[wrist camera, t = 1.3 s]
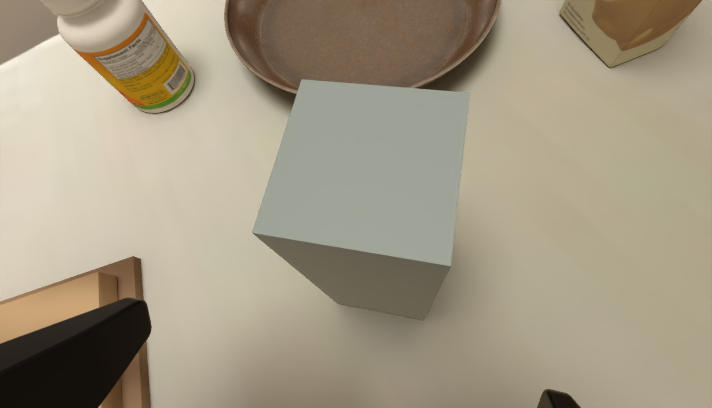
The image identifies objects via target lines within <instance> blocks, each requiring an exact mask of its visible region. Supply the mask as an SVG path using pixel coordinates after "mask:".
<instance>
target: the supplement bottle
mask: <svg viewBox="0 0 712 408" xmlns="http://www.w3.org/2000/svg"><path fill="white" fill-rule="evenodd" d="M40 1H41V2H42V3H43V4H44V5H45V6H46V7H47V8H48V9H49V10H51V12H52V13H53V14H55V15H56V16H58V20H57V23H58V24H57V25H58V30H59V33H60V34H61V36H62V38H63V39H64V40H65V41H66V42H67V43H68V44H69V45H70V46H71V47H72V48H73V49H74V50H75V51H76V52H77V53H78V54H79V55H80V56H81V57H82V58H83V59H84V60H86V61H87V62H88V63H89V64H90V65H91V66H92V67H93V68H94V69H95V70H96V71H97V72H98V73H99V74H100V75H101V76H103V77H104V78H105V79H106V80H107V81H108V82H109V83H110V84H111V85H112V86H113V87H114V88H115V89H116V90H118V91H119V92H120V93H121V94H122V95H123V96H124V97H125V98H126V99H127V100H128V101H129V102H131V103H132V104H133V105H134V106H135V107H136V108H138V109H140V110H142V111H144V112H149V113H159V112H163V111H167V110H169V109H171V108H173V107H175V106H177V105H178V104H179V103H181V102H182V101H183V100H184V99H185V98H186V97H187V96H188V94H189V93H190V91H191V89H192V87H193V83H194V75H193V71H192V69H191V67H190V66H189V64H188V63H187V61H186V60H185V59H184V57H183V56H182V55H181V53H180V52H179V51H178V49H177V48H176V46H175V45H174V44H173V42H172V41H171V40H170V38H169V37H168V36H167V34H166V33H165V32H164V30H163V29H162V28H161V26H160V25H159V23H158V22H157V21H156V19H155V18H154V17H153V15H152V14H151V12H150V11H149V10H148V8H147V7H146V6H145V4H144V3H143V2H142V0H40Z"/></svg>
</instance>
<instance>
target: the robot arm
mask: <svg viewBox="0 0 712 408" xmlns="http://www.w3.org/2000/svg"><path fill="white" fill-rule="evenodd" d="M151 328H152V326H151V321H150V316H149V311H148V307H147V303H146V302H145V301H144V300H141V299H136V298H132V297H127V298H124V299H121V300H118V301H115V302H113V303H110V304H107V305H104V306H102V307H99V308H96V309H93V310H91V311H88V312H85V313H83V314H80V315H77V316H74V317H72V318H69V319H66V320H63V321H61V322H58V323H55V324H52V325H50V326H47V327H44V328H41V329H39V330H36V331H33V332H30V333H28V334H25V335H22V336H19V337H17V338H14V339H11V340H8V341H6V342H3V343H0V408H98V407H99V406H100V405H101V404H102V402H103V401H104V400H105V399H106V397H107V396H108V395H109V393H110V392H111V390H112V389H113V388H114V386H115V385H116V383H117V382H118V381H119V379H120V378H121V376H122V375H123V373H124V372H125V370H126V369H127V368H128V366H129V365H130V363H131V362H132V360H133V359H134V357H135V356H136V355H137V353H138V352H139V350H140V349H141V347H142V346H143V344H144V343H145V342H146V340H147V339H148V337H149V335H150V333H151ZM537 408H581V407H580V406H579V405H578V404H577V403H576V402H575V400H574V399H573V398H572V397H571V396H570V395H568V394H567V393H564V392H560V391H555V390H551V389H546V390H544V391H543V393H542V395H541V398H540V401H539V404H538V407H537Z"/></svg>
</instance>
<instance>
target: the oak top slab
mask: <svg viewBox="0 0 712 408" xmlns="http://www.w3.org/2000/svg"><path fill="white" fill-rule="evenodd" d="M115 301H118V296H117V277H116V276H113V275H109V274H105V273H102V272H95V273H93V274H90V275H87V276H84V277H81V278H78V279H75V280H72V281H69V282H66V283H63V284H61V285H58V286H55V287H52V288H49V289H46V290H43V291H40V292H37V293H34V294H31V295H28V296H26V297H23V298H20V299H17V300H14V301H11V302H8V303H5V304H2V305H0V343H3V342H6V341H8V340H11V339H14V338H17V337H19V336H22V335H25V334H28V333H30V332H33V331H36V330H39V329H41V328H44V327H47V326H50V325H52V324H55V323H58V322H61V321H63V320H66V319H69V318H72V317H74V316H77V315H80V314H83V313H85V312H88V311H91V310H93V309H96V308H99V307H102V306H104V305H107V304H110V303H113V302H115ZM98 408H122V387H121V378H120V379H119V381H118V382H117V383H116V385H115V386H114V388H113V389H112V390H111V392H110V393H109V395H108V396H107V397H106V399H105V400H104V401H103V402H102V404H101V405H100V406H99V407H98Z"/></svg>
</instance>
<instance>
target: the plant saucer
mask: <svg viewBox="0 0 712 408" xmlns="http://www.w3.org/2000/svg"><path fill="white" fill-rule="evenodd" d="M500 4H501V0H226V4H225V12H224V20H225V29H226V33H227V37H228V40H229V42H230V44H231V46H232V48H233V50H234V52H235V53H236V55H237V56H238V58H239V59H240V60H241V61H242V63H243V64H244V65H245V66H246V67H247V68H248V69H250V70H251V71H252V72H253V73H254V74H256V75H257V76H258V77H260V78H261V79H263V80H265V81H266V82H268V83H270V84H272V85H274V86H275V87H277V88H279V89H281V90H284V91H286V92H289V93H291V94H294V95H297V92H298V89H299V86H300V82H301V79H304V80H316V81H329V82H341V83H354V84H366V85H379V86H391V87H404V88H417V89H420V88H422V87H424V86H426V85H428V84H430V83H432V82H434V81H435V80H437V79H439V78H440V77H442V76H444V75H445V74H447V73H448V72H450V71H451V70H452V69H454V68H455V67H456V66H458V65H459V64H460V63H461V62H462V61H464V60H465V59H466V58H467V57H468V56H469V55H470V54H471V53H472V52H473V51H474V50H475V49H476V48H477V47H478V46H479V45H480V44H481V42H482V41H483V40H484V39H485V37H486V36H487V34H488V33H489V31H490V30H491V28H492V26H493V24H494V22H495V20H496V17H497V15H498V12H499V8H500Z"/></svg>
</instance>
